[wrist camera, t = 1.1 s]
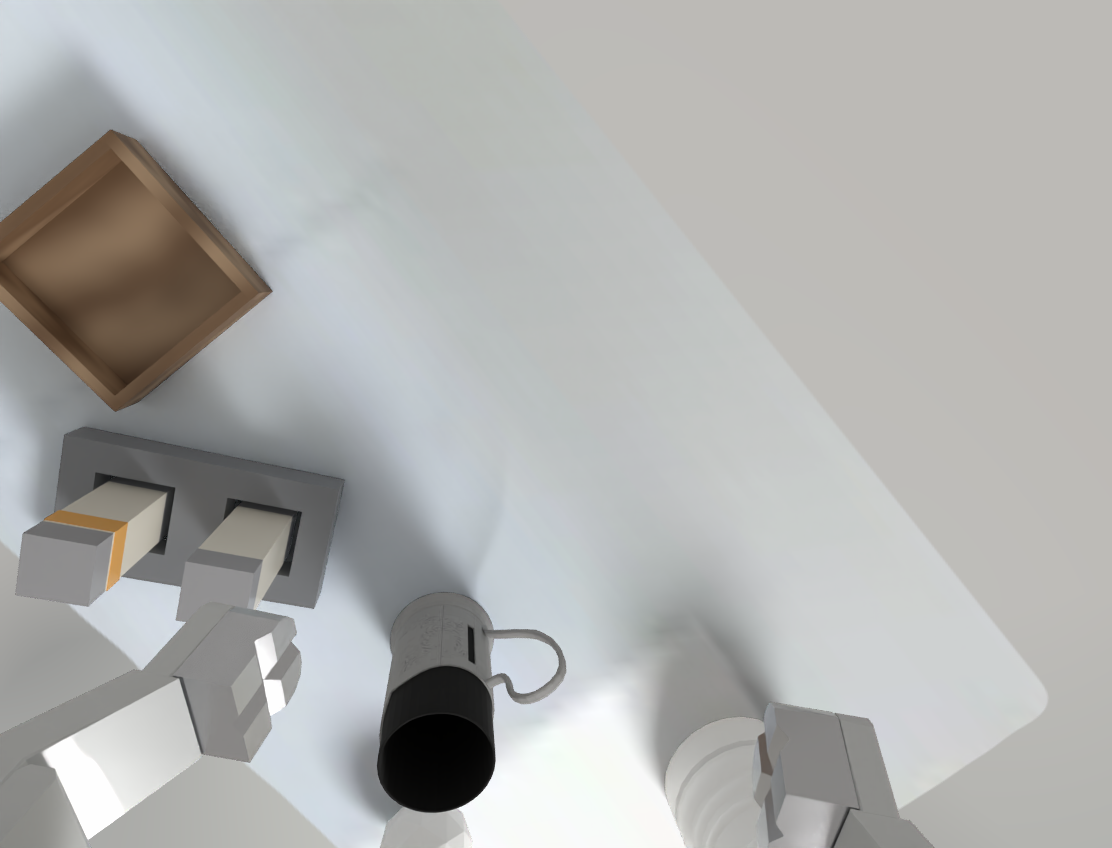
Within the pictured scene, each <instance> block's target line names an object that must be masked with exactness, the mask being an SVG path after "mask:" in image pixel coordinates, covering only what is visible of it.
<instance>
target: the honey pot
mask: <svg viewBox="0 0 1112 848" xmlns="http://www.w3.org/2000/svg"><path fill="white" fill-rule="evenodd" d="M764 732H765V727H764V722H763V721H761V720H758V719H753V718H747V717H733V718H724V719H721V720H718V721H715V722H712V723H709V724H707V725H705V726H703V727H702V728H700V729H698V730H697V731H695V732H693V733H692V734H691V735H690V736H689V737H688V738H687V739H686V740H685V741H684V742H683V743H682V744H680V746H679V747H678V749H677V750H676V752H675V753H674V755H673V756H672V758H671V760H670V762H669V765H668V768H667V771H666V774H665V792H666V796H667V800H668V804H669V806H670V809H671V811H672V814H673V817H674V819H675V822H676V824H677V827H678V829H679V831H680V834H681V837H682V838H683V841H684V845H685V846H686V848H758V842H757V831H756V824H757V821H758V818H759V814H760V811H761V808H760V806H759V805H758V803H757V802H756V801H755V799H754V798H753V784H752V766H753V757H754V750H755V746H756V742H757V738H758V736H759V735H761V734H762V733H764Z"/></svg>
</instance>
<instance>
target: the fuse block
mask: <svg viewBox="0 0 1112 848" xmlns="http://www.w3.org/2000/svg"><path fill="white" fill-rule="evenodd" d="M111 475H112V476H118V477H123V478H128V479H133V480H138V481H144V482H149V483H154V484H159V485H164V486H170V487H175V494H174V500H173V507H172V513H171V519H170V525H169V531H168V537H167V540H164V539H162V540H161V541H160V542H158V543H157V544H156V545H155V546H154V547H153V548H152V549H151V550H150V551H149V552H148V553H146V554H145V555H144V556H143V557H142V558H141V559H140V560H139V561H138V562H137V563H135V564H134V565H133V566H132V567H131V568H130V569H129V570H128V571H127V572H126V573H125V574H123V575H122V576H121V577H126V578H132V579H138V580H144V581H150V582H156V583H162V584H168V585H174V586H180V587H181V586H182V580H183V575H184V569H185V563H186V561H187V560H188V559H189V557H190V556H191V555H192V554H193V553H194V552H195V551H196V550H197V549H198V548H199V547H200V546H201V545H202V544H203V542H204V541H205V540H206V539H207V538H208V537H209V536H210V535H211V534H212V533H213V532H214V531H215V530H216V529H217V527H218V526H219V525H220V524H221V523H222V522H223V521H224V520H225V519H226V518H227V517H228V516H229V515H230V514H231V512H232V511H233V510H234V506H235V500H236V499H237V500H243V501H248V502H253V503H258V504H263V505H269V506H274V507H279V508H284V509H289V510H295V511H300V512H302V515H301V520H300V525H299V530H298V535H297V540H296V545H295V550H294V555H293V560H292V562H287V561H284V563H283V565H282V566H281V568H280V570H279V572H278V573H277V575H276V577H275V578H274V580H273V582H272V583H271V585H270V587H269V588H268V590H267V592H266V593H265V595H264V597H263V598H262V600H264V601H270V602H276V603H282V604H288V605H294V606H300V607H306V608H312V609H314V607H315V605H316V603H317V600H318V598H319V596H320V593H321V588H322V584H323V579H324V574H325V569H326V565H327V560H328V555H329V551H330V546H331V541H332V536H333V532H334V527H335V522H336V518H337V513H338V508H339V504H340V499H341V494H342V489H343V485H344V480H343V479H338V478H333V477H328V476H323V475H319V474H314V473H309V472H304V471H299V470H294V469H289V468H284V467H279V466H274V465H269V464H264V463H259V462H255V461H250V460H245V459H240V458H235V457H230V456H225V455H220V454H215V453H210V452H205V451H200V450H195V449H191V448H186V447H181V446H176V445H171V444H166V443H161V442H156V441H151V440H146V439H141V438H136V437H131V436H127V435H122V434H117V433H112V432H107V431H102V430H97V429H92V428H87V427H82V428H79V429H77V430H74V431H72V432H70V433H67V434H65V435H64V441H63V448H62V456H61V464H60V471H59V479H58V487H57V495H56V502H55V510H54V513H55V512H56V511H58V510H62V509H64V508H65V507H67V506H68V505H70V504H72V503H73V502H75V501H77V500H78V499H80V498H82V497H83V496H85V495H87V494H88V493H90V492H91V491H93V490H95V489H96V488H98V487H100V486H101V485H103V484H105V483H106V482H108V481H110V478H111Z"/></svg>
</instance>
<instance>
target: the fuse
mask: <svg viewBox="0 0 1112 848" xmlns="http://www.w3.org/2000/svg"><path fill="white" fill-rule="evenodd" d="M297 513H298V511H295V510H289V509H284V508H279V507H274V506H269V505H263V504H258V503H253V502H248V501H242V502H241V503H240V504H239V505H238V506H237V507H236V508H235V509H234V510H233V511H232V512H231V514H230V515H229V516H228V517H227V518H226V519H225V520H224V521H223V522H222V523H221V524H220V525H219V526H218V527H217V529H216V530H215V531H214V532H213V533H212V534H211V535H210V536H209V537H208V538H207V539H206V540H205V541H204V542H203V544H202V545H201V546H200V547H199V548H198V549H197V550H196V551H195V552H194V553H193V554H192V555H191V556H190V557H189V559H188V560H187V561H186V563H185V569H184V575H183V580H182V586H181V592H180V598H179V604H178V610H177V616H176V620H177V621H183V622H187V621H188V620H189V619H190V618H191V617H192V616H193V614H194V613H195V612H196V611H197V610H198V609H199V608H200V607H201V606H203V605H205V604H207V603H209V602H211V601H212V602H217V603H222V604H227V605H232V606H238V607H243V608H248V609H253V610H256V608H257V607H258V605H259V603H260V602H261V600H262V598H263V597H264V595H265V593H266V592H267V590H268V588H269V587H270V585H271V583H272V582H273V580H274V578H275V577H276V575H277V573H278V572H279V570H280V568H281V566H282V565H283V563H284V561H285V560H286V558H287V556H288V555H289V552H290V547H291V542H292V537H293V532H294V527H295V523H296V518H297Z"/></svg>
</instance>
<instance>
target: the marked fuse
mask: <svg viewBox="0 0 1112 848" xmlns="http://www.w3.org/2000/svg"><path fill="white" fill-rule="evenodd" d="M174 494H175V487H170V486H164V485H159V484H154V483H149V482H144V481H138V480H133V479H128V478H123V477H118V476H116V477H115V478H113V479H111V480H110V481H108V482H106V483H105V484H103V485H101V486H100V487H98V488H96V489H95V490H93V491H91V492H90V493H88V494H87V495H85V496H83V497H82V498H80V499H78V500H77V501H75V502H73V503H72V504H70V505H68V506H67V507H65V508H64V509H62V510H58V511H56V512H55V513H53V514H51V515H50V516H48V517H46V518H45V519H44V521H42V522H40V523H39V524H37V525H36V526H34V527H32V528H31V529H29V530H27V531H26V532H24V533H23V535H22V543H21V551H20V560H19V569H18V576H17V584H16V593H15V595H18V596H24V597H30V598H37V599H43V600H49V601H56V602H62V603H68V604H75V605H81V606H87V607H88V606H89V605H91V604H92V603H93V602H94V601H95V600H96V599H97V598H98V597H99V596H100V595H102V594H103V593H104V592H105V591H108V590H109V589H110V588H111V587H112V586H113V585H114V584H115V583H116V582H117V581H118V580H119V579H120V577H121V576H122V575H123V574H125V573H126V572H127V571H128V570H129V569H130V568H131V567H132V566H133V565H134V564H135V563H137V562H138V561H139V560H140V559H141V558H142V557H143V556H144V555H145V554H146V553H148V552H149V551H150V550H151V549H152V548H153V547H154V546H155V545H156V544H157V543H158V542H160V541H161V540H162V539H163V538H164V537H165V536H166V535H167V534H168V531H169V525H170V519H171V513H172V507H173V500H174Z"/></svg>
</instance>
